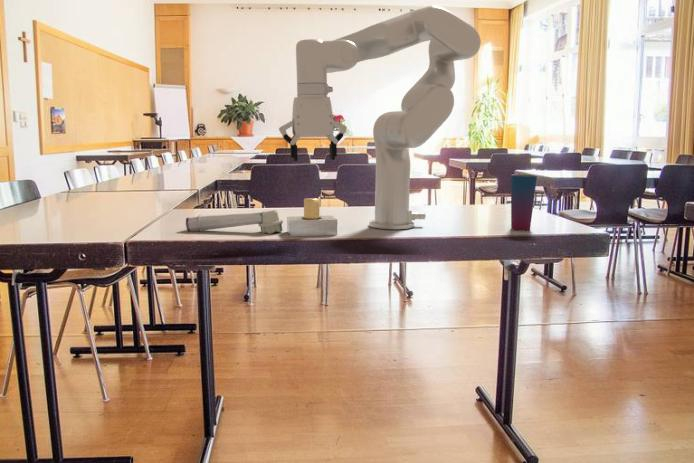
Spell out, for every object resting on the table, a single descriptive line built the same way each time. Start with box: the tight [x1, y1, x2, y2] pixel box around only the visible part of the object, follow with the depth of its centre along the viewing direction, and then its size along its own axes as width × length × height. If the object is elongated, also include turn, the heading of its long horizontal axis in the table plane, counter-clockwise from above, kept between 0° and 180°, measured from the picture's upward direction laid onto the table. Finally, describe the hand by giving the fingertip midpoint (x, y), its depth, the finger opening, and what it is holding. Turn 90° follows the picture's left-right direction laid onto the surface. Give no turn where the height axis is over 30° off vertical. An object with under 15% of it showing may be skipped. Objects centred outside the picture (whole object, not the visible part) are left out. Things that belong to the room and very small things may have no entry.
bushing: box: [303, 197, 320, 220], centre depth 153 cm, size 4×4×9 cm
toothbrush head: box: [185, 209, 284, 235], centre depth 155 cm, size 5×7×25 cm
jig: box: [286, 215, 338, 237], centre depth 154 cm, size 12×7×4 cm, turn 104°
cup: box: [510, 173, 538, 231], centre depth 162 cm, size 7×7×15 cm
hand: (313, 160), depth 151 cm, fingers open, 9 cm apart
